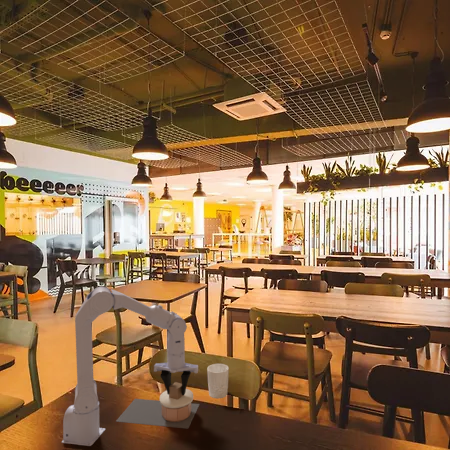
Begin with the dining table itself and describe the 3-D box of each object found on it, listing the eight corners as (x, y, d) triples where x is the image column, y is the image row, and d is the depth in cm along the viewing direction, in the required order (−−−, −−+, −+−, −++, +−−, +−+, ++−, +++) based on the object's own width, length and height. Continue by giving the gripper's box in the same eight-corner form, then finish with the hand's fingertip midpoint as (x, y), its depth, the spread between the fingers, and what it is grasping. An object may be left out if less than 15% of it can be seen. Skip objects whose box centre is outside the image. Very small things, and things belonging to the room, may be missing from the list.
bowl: (158, 420, 105) (158, 408, 105) (168, 405, 114) (168, 393, 114) (185, 423, 103) (185, 410, 103) (193, 407, 112) (193, 395, 112)
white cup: (215, 403, 116) (215, 374, 116) (203, 394, 122) (203, 367, 122) (233, 396, 121) (232, 368, 121) (220, 387, 127) (220, 361, 127)
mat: (115, 422, 105) (115, 421, 105) (135, 400, 119) (135, 398, 119) (188, 430, 101) (188, 428, 101) (199, 405, 114) (199, 404, 114)
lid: (152, 403, 106) (152, 389, 106) (173, 388, 116) (172, 375, 116) (180, 411, 101) (180, 396, 101) (199, 395, 111) (199, 381, 111)
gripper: (150, 356, 106) (151, 398, 105) (194, 357, 104) (195, 400, 104) (157, 347, 113) (158, 387, 112) (199, 349, 111) (199, 389, 111)
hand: (176, 393), depth 109 cm, fingers closed on lid, 4 cm apart
